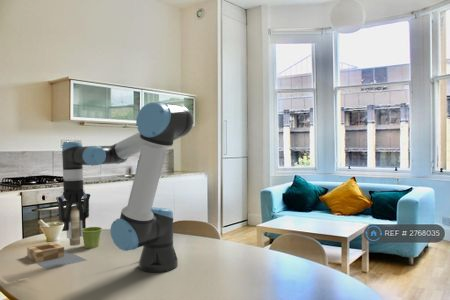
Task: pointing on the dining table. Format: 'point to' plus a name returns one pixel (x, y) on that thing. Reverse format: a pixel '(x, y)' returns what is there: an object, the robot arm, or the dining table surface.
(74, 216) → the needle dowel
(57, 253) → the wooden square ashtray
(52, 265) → the mat
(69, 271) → the dining table surface
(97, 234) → the plant pot
